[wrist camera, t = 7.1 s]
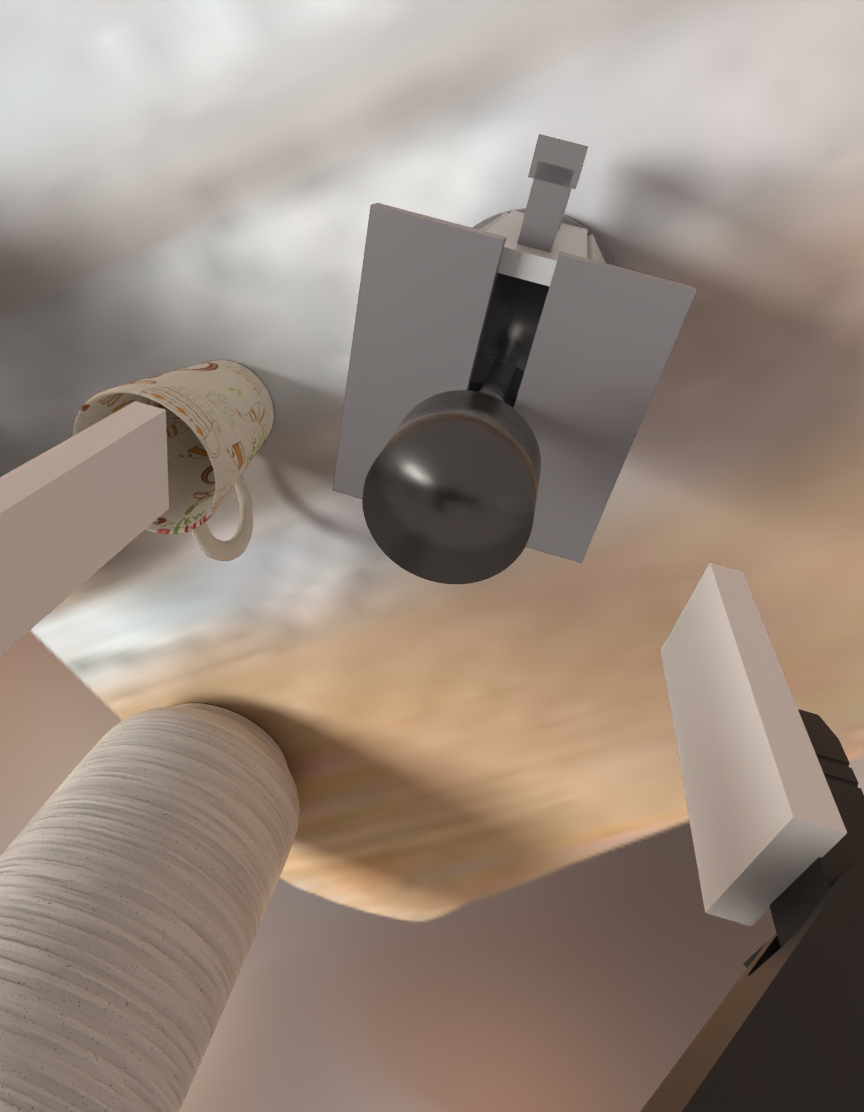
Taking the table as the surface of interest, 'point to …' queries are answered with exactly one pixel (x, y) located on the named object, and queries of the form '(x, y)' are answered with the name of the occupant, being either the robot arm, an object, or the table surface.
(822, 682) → the table surface
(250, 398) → the mug
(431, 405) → the plunger
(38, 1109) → the vase
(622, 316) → the grey french press
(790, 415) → the table surface
